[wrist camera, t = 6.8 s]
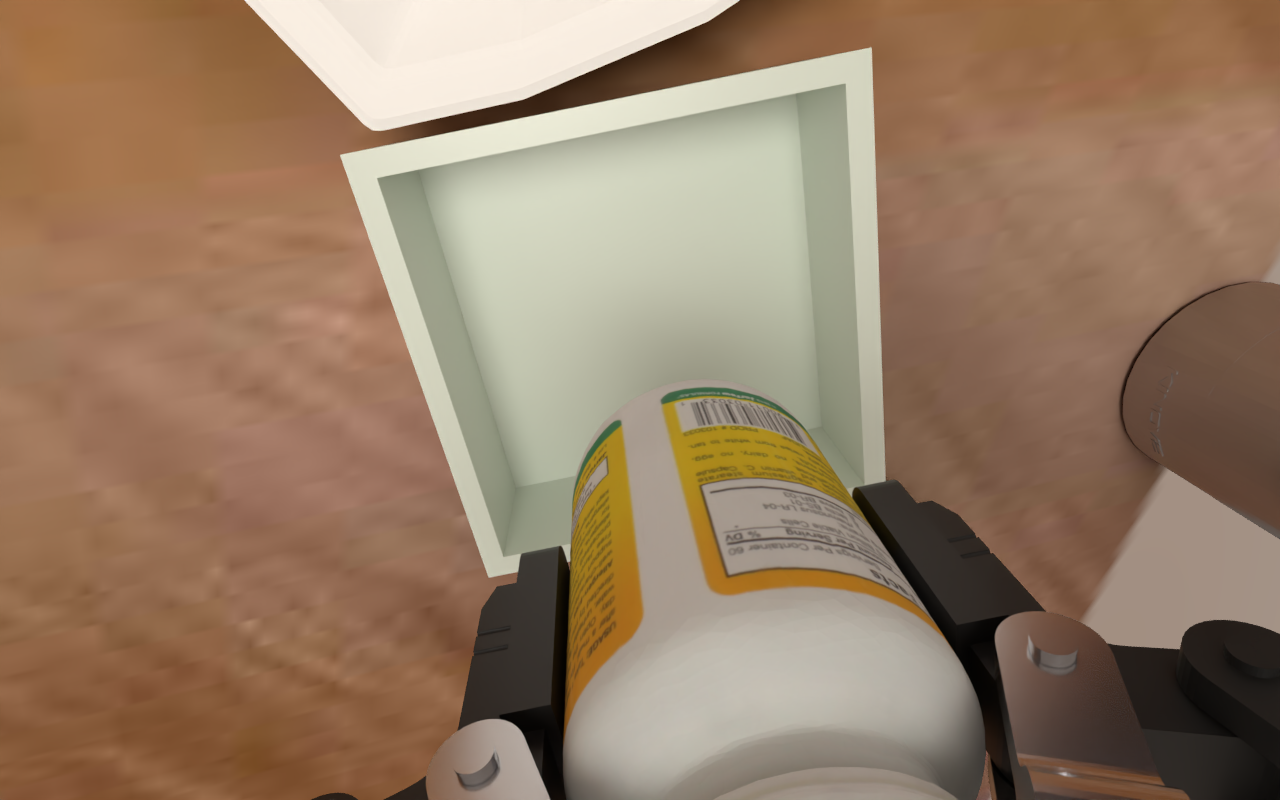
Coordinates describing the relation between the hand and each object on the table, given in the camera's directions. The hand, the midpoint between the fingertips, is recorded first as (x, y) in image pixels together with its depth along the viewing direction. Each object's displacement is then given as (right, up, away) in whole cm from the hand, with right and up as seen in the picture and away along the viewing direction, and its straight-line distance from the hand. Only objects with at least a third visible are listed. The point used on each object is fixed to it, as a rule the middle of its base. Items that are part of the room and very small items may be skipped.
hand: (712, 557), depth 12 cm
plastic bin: (-1, +7, +15) cm, 17 cm away
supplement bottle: (0, +1, +2) cm, 3 cm away
